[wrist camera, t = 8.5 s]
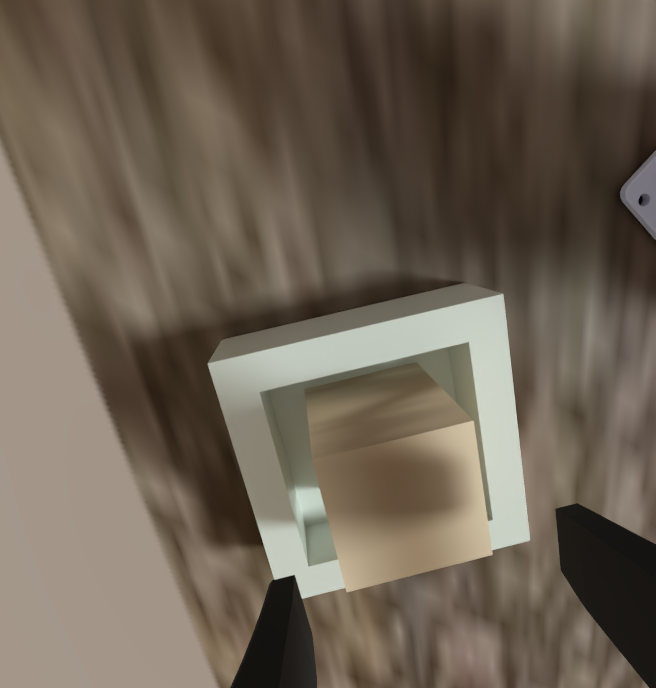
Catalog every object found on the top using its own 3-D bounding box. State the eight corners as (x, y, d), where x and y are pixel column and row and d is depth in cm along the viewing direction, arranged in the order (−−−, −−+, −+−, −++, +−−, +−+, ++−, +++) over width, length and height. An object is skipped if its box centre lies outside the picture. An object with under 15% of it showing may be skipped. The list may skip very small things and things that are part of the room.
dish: (465, 282, 19) (503, 293, 16) (492, 493, 22) (530, 540, 19) (221, 339, 19) (207, 363, 15) (282, 545, 22) (282, 603, 18)
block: (416, 362, 19) (473, 420, 13) (433, 461, 20) (492, 554, 14) (304, 389, 19) (312, 460, 13) (329, 487, 20) (346, 592, 14)
